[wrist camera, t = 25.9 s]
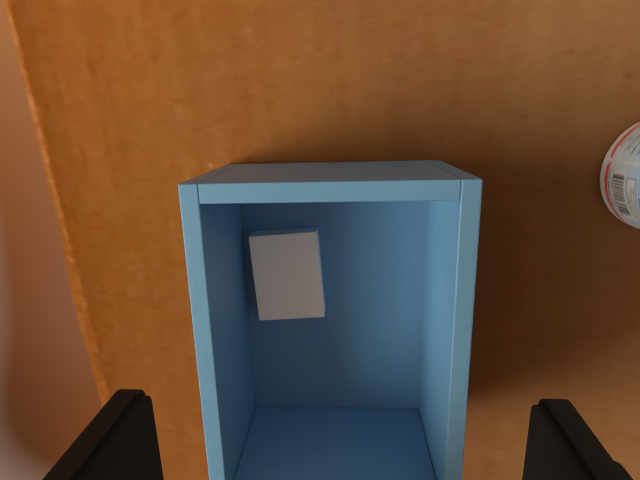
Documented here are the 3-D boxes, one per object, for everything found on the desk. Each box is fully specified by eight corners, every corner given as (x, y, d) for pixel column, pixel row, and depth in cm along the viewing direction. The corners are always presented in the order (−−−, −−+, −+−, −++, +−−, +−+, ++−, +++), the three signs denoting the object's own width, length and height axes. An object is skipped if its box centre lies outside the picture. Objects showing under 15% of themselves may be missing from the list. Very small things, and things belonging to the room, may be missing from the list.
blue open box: (227, 163, 25) (177, 184, 17) (440, 160, 24) (483, 179, 17) (246, 408, 29) (212, 510, 21) (429, 411, 28) (459, 517, 21)
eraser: (316, 231, 24) (247, 236, 24) (324, 317, 25) (259, 321, 25) (318, 226, 25) (252, 231, 25) (325, 308, 26) (263, 311, 26)
